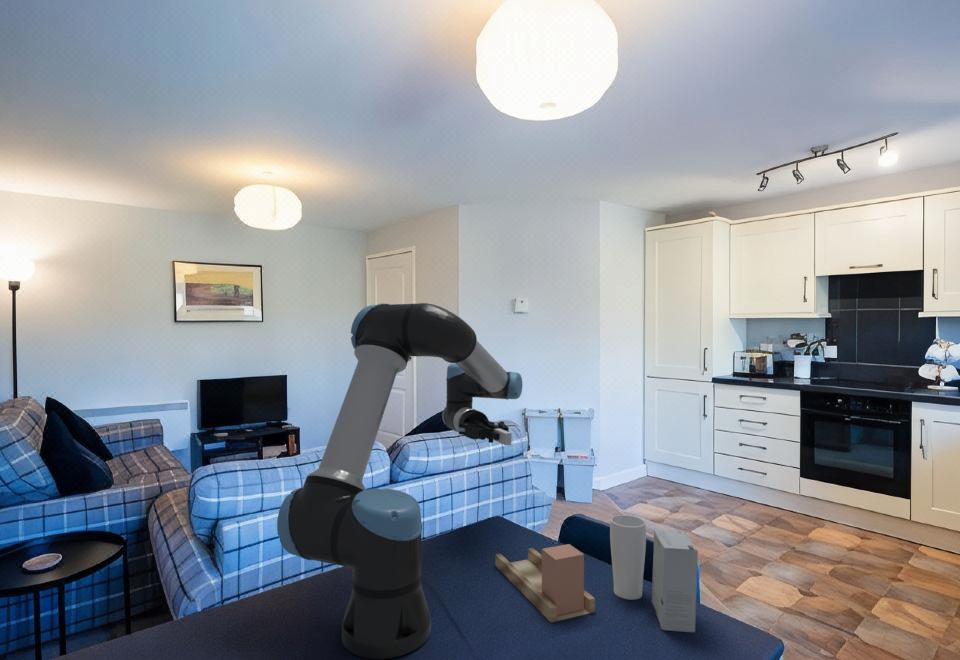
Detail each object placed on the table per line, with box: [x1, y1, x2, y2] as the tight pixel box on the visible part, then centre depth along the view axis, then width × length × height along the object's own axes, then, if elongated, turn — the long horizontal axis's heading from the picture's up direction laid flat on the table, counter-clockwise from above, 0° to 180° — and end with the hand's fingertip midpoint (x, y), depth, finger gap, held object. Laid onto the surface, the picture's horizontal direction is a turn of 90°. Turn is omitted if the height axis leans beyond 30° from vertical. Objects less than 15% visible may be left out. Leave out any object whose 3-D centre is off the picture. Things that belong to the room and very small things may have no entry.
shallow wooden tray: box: [494, 547, 596, 623], centre depth 103 cm, size 24×9×3 cm, turn 22°
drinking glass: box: [609, 514, 647, 600], centre depth 100 cm, size 7×7×15 cm
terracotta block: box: [541, 543, 585, 615], centre depth 95 cm, size 5×6×10 cm
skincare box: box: [651, 529, 699, 633], centre depth 92 cm, size 8×6×15 cm
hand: (508, 439), depth 117 cm, fingers closed
